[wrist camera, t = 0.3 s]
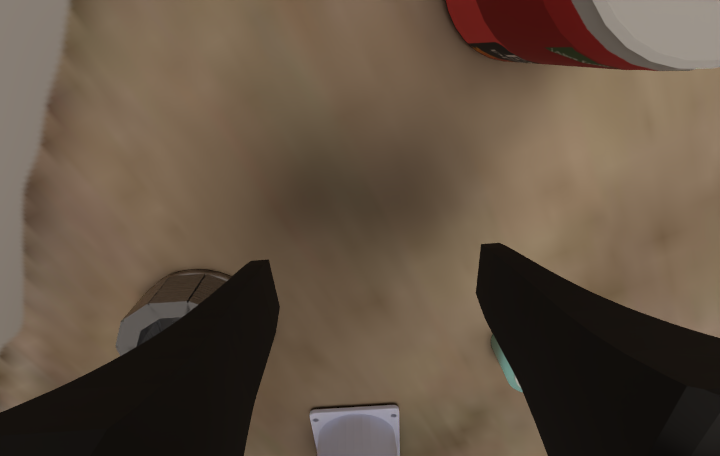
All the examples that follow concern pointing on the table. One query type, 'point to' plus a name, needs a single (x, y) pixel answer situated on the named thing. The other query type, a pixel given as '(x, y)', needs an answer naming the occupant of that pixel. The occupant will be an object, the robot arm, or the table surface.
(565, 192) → the table surface
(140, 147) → the table surface
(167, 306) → the faceted ring bowl
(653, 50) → the canned food
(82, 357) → the table surface
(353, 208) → the table surface
